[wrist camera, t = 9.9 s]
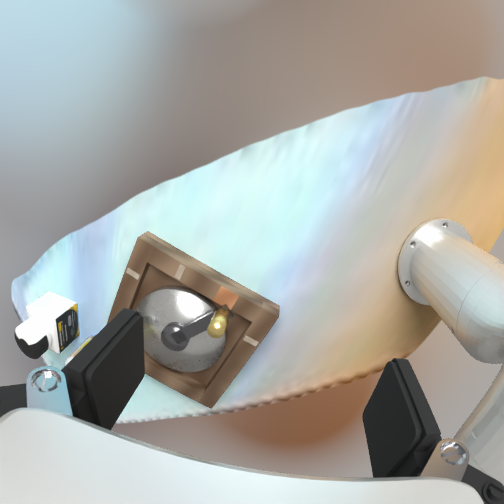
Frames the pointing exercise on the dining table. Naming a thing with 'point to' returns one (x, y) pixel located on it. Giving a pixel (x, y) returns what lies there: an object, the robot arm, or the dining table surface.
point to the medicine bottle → (48, 325)
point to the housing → (217, 291)
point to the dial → (183, 328)
